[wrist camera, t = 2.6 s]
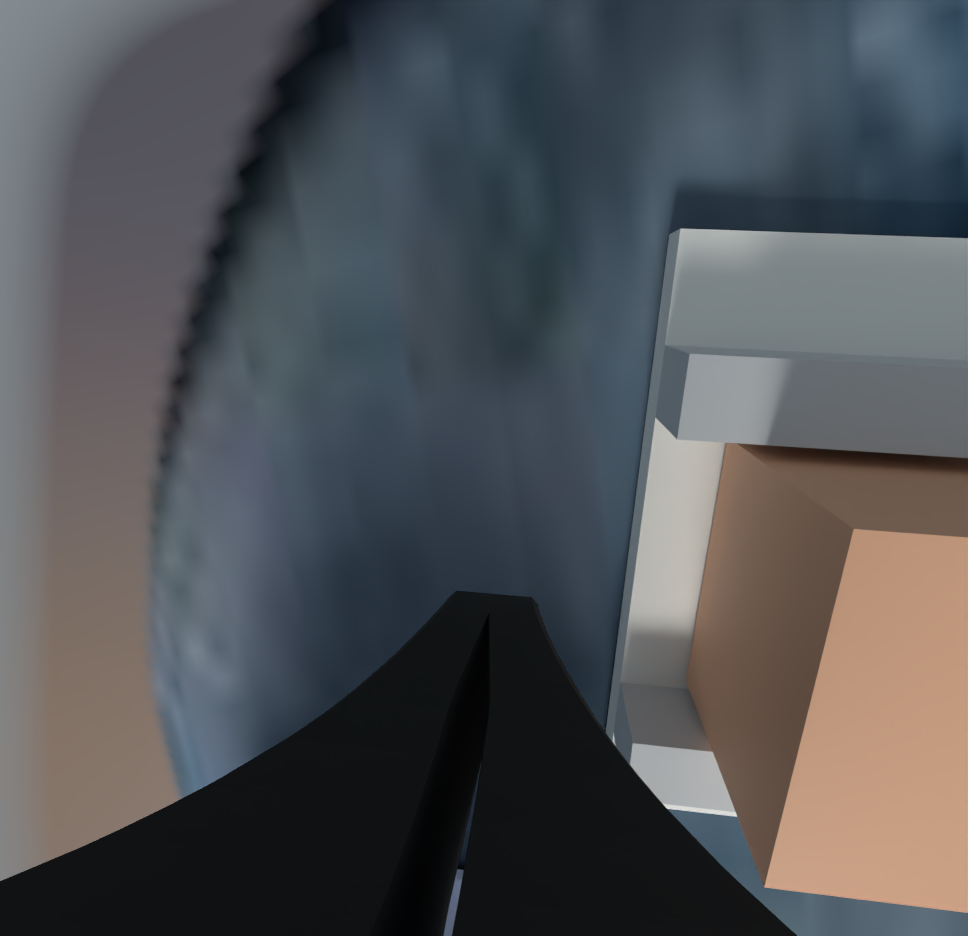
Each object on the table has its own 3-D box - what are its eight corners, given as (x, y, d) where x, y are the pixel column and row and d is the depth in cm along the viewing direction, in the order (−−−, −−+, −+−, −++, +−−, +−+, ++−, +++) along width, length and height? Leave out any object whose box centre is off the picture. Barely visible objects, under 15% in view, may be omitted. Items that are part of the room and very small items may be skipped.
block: (685, 680, 14) (764, 887, 9) (727, 436, 12) (853, 529, 7) (905, 702, 13) (1114, 931, 8) (982, 453, 11) (1298, 561, 7)
